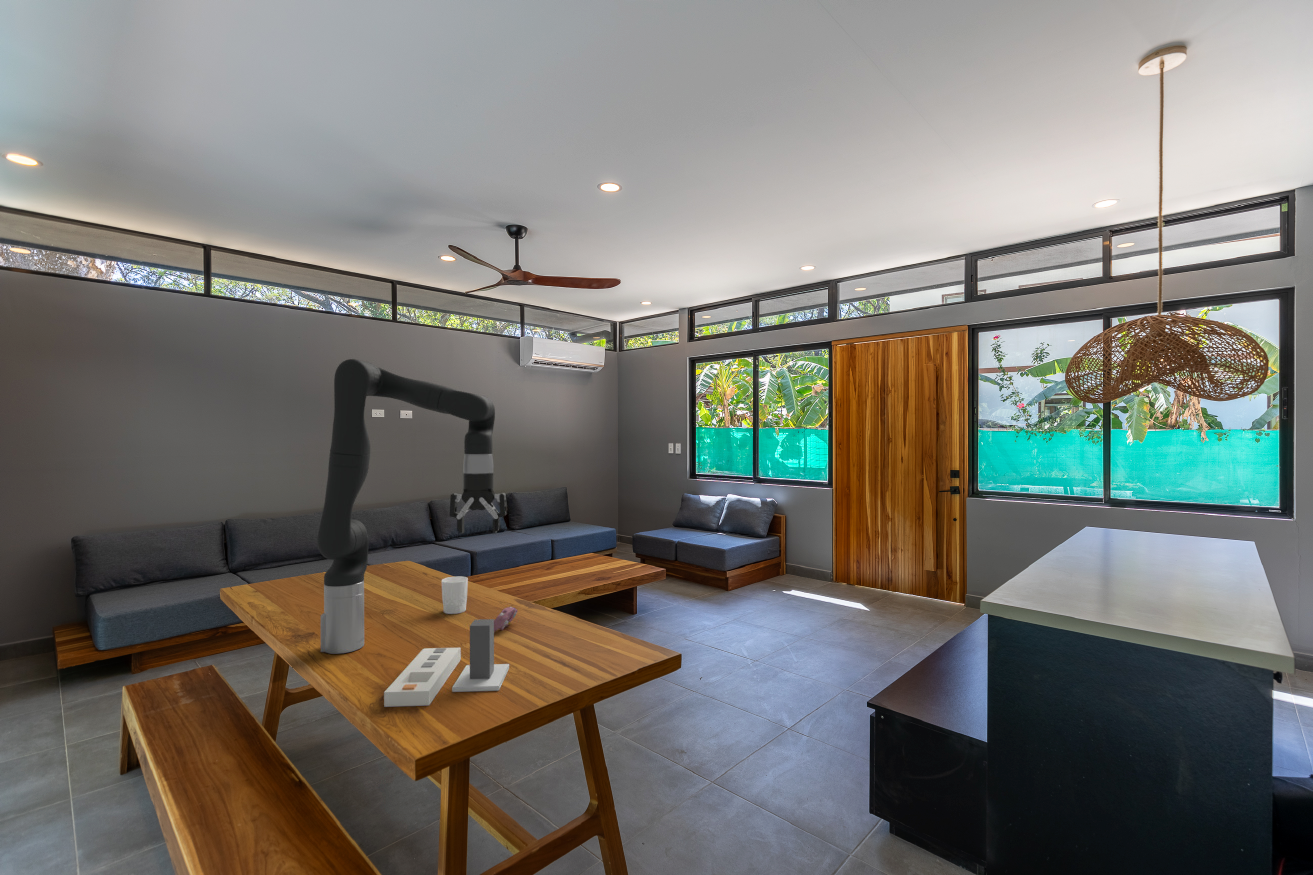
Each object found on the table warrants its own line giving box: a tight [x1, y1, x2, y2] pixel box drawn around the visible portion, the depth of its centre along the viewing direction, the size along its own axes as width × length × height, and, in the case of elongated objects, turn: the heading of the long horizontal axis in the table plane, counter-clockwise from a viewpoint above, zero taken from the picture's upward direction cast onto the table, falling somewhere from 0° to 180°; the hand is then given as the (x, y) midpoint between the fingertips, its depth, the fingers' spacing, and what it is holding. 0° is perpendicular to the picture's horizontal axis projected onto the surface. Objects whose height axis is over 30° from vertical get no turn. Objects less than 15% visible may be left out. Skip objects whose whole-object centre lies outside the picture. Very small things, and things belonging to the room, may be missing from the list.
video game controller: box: [494, 606, 518, 633], centre depth 166 cm, size 10×5×7 cm, turn 170°
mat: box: [451, 663, 510, 693], centre depth 131 cm, size 10×12×1 cm
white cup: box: [441, 575, 469, 615], centre depth 182 cm, size 8×8×10 cm
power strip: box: [383, 647, 462, 708], centre depth 131 cm, size 9×24×3 cm, turn 4°
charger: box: [469, 618, 495, 679], centre depth 131 cm, size 4×4×12 cm
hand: (478, 533), depth 151 cm, fingers open, 8 cm apart
